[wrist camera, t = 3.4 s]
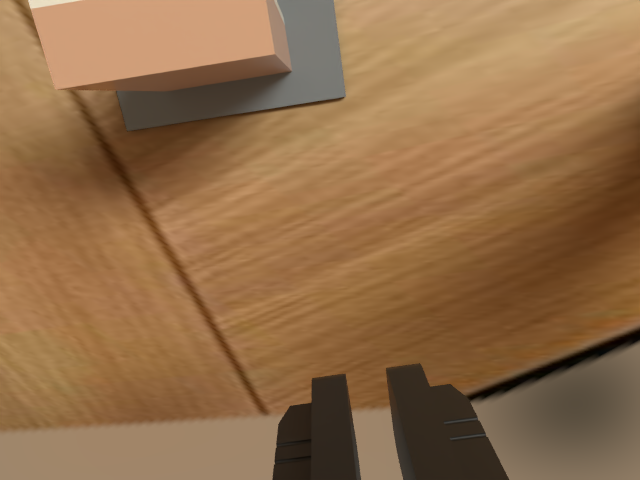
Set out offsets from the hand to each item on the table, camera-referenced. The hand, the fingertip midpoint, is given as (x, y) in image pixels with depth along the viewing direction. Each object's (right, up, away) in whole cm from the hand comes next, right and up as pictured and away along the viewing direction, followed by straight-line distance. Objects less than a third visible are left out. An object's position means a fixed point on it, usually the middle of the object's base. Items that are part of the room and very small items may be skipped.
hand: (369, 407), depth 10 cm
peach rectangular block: (-8, +16, +23) cm, 29 cm away
